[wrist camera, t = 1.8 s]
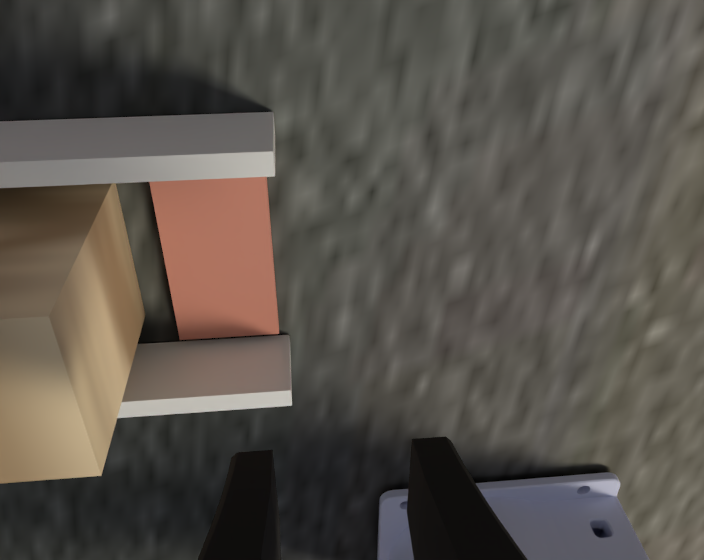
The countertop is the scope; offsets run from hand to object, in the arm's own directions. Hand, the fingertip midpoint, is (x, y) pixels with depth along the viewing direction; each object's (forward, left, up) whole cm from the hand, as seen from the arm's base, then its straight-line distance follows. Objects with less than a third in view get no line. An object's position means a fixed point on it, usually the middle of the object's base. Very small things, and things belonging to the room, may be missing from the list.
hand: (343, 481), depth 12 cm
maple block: (+8, 0, -8) cm, 11 cm away
